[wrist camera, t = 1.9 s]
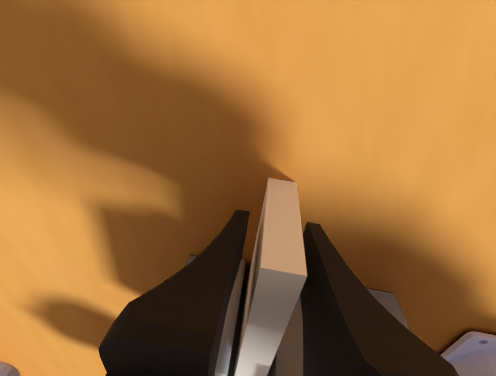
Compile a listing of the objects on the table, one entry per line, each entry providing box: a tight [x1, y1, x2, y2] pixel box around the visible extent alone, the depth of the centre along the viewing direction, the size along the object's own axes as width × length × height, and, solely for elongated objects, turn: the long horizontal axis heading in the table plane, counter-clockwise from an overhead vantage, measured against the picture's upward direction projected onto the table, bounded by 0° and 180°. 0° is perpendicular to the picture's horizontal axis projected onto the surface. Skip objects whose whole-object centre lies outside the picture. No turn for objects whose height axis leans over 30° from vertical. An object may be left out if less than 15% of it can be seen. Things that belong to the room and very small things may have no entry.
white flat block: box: [233, 178, 307, 376], centre depth 13 cm, size 2×10×6 cm, turn 172°
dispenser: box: [185, 255, 411, 376], centre depth 15 cm, size 14×9×7 cm, turn 82°
